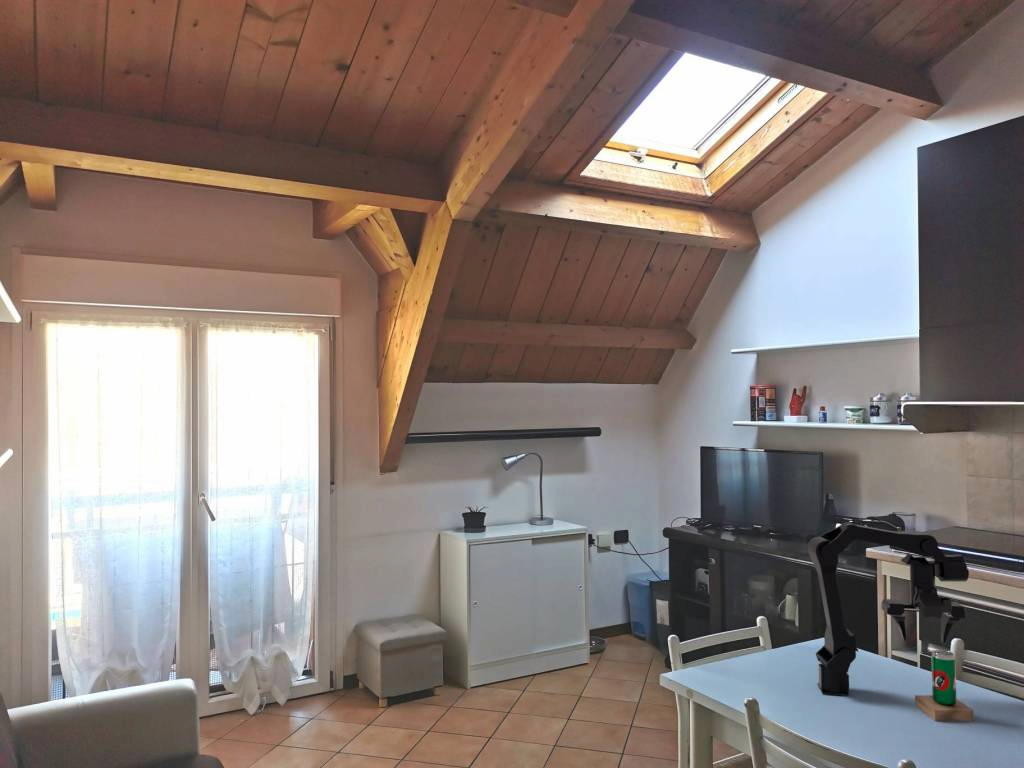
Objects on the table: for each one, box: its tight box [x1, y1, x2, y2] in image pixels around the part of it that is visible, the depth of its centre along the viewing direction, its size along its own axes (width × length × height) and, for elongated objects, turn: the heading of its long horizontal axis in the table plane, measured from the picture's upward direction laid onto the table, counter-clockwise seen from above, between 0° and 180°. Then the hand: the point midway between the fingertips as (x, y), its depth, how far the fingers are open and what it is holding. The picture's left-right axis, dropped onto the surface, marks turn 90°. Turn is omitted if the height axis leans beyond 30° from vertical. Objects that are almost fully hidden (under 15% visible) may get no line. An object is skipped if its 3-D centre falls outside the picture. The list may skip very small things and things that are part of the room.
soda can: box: [930, 649, 957, 706], centre depth 180 cm, size 5×5×12 cm
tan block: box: [914, 694, 975, 722], centre depth 180 cm, size 9×9×2 cm
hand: (923, 641), depth 193 cm, fingers open, 9 cm apart
